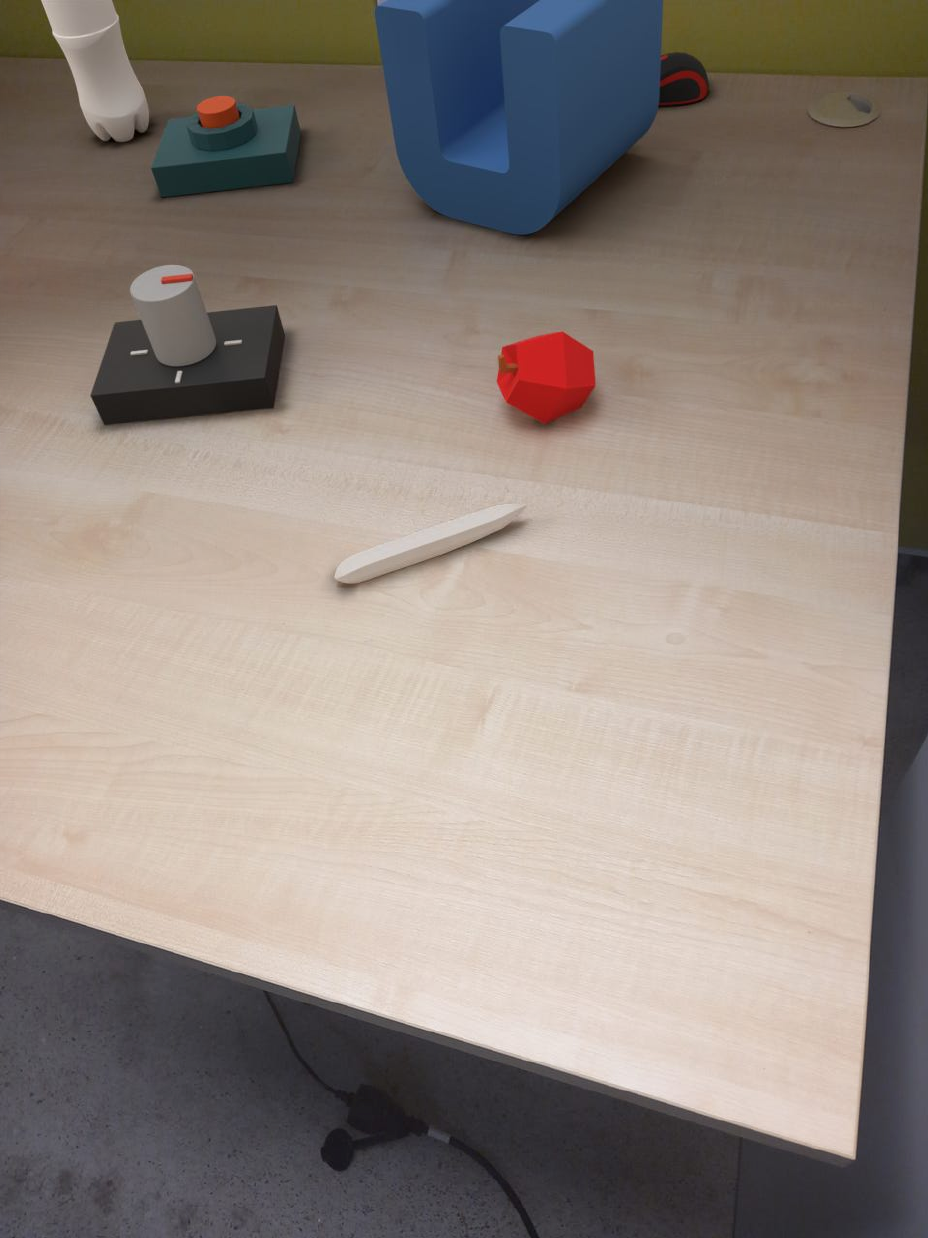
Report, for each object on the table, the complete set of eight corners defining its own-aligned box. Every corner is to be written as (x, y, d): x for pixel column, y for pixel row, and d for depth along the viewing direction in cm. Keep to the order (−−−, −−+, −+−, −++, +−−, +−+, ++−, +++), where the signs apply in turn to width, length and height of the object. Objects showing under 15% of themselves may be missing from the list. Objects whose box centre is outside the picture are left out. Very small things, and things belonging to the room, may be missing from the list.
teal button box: (161, 197, 107) (144, 150, 103) (177, 148, 114) (162, 102, 110) (292, 182, 106) (281, 133, 102) (301, 133, 113) (290, 86, 109)
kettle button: (199, 132, 105) (194, 115, 104) (204, 114, 108) (199, 97, 107) (237, 127, 105) (232, 110, 104) (241, 110, 108) (237, 93, 106)
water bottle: (164, 131, 117) (78, -131, 98) (106, 153, 115) (7, -110, 96) (141, 112, 121) (54, -143, 102) (84, 133, 119) (-15, -123, 100)
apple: (598, 308, 77) (500, 297, 74) (622, 374, 73) (520, 366, 71) (564, 374, 82) (471, 366, 79) (585, 438, 79) (489, 433, 76)
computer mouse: (600, 91, 112) (600, 52, 109) (699, 75, 112) (702, 36, 109) (612, 116, 108) (612, 76, 105) (714, 100, 108) (718, 60, 105)
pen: (532, 525, 70) (531, 507, 69) (339, 592, 68) (334, 575, 67) (523, 510, 71) (522, 493, 70) (333, 576, 69) (328, 559, 68)
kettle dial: (150, 369, 82) (122, 300, 77) (161, 333, 85) (134, 264, 80) (212, 363, 81) (187, 293, 77) (220, 326, 85) (197, 257, 80)
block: (404, 205, 100) (373, 4, 87) (505, 125, 109) (490, -69, 95) (562, 246, 93) (554, 33, 79) (657, 157, 101) (665, -50, 88)
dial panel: (104, 425, 83) (89, 393, 80) (127, 351, 89) (114, 320, 87) (274, 408, 82) (264, 375, 79) (285, 334, 88) (276, 302, 86)
